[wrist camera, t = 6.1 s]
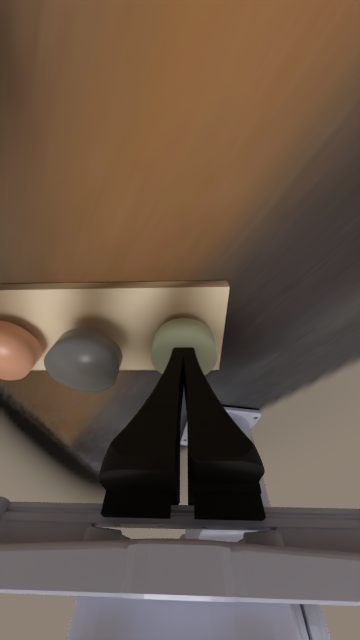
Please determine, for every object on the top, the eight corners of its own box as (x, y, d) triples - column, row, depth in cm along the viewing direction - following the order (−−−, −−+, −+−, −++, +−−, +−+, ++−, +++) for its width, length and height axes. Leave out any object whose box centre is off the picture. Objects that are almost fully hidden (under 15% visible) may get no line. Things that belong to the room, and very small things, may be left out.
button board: (226, 280, 13) (229, 286, 13) (217, 361, 18) (218, 369, 17) (-40, 284, 14) (-54, 291, 13) (16, 361, 19) (9, 370, 18)
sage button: (215, 311, 14) (220, 332, 12) (211, 356, 16) (214, 380, 14) (152, 311, 14) (146, 333, 12) (158, 356, 16) (154, 380, 14)
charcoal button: (118, 320, 13) (106, 345, 11) (130, 365, 16) (122, 392, 14) (53, 321, 13) (30, 345, 11) (75, 365, 16) (60, 392, 14)
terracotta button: (32, 313, 14) (8, 334, 12) (56, 356, 17) (39, 380, 15) (-27, 313, 14) (-61, 334, 12) (6, 356, 17) (-18, 380, 15)
